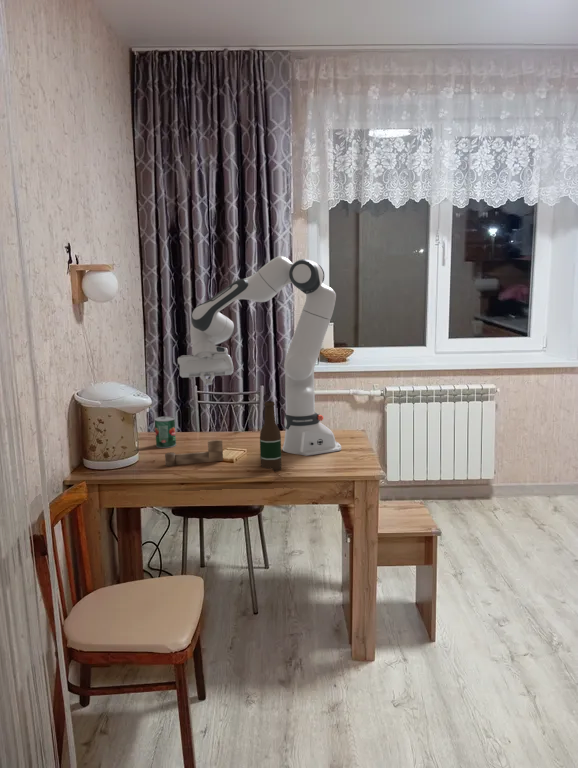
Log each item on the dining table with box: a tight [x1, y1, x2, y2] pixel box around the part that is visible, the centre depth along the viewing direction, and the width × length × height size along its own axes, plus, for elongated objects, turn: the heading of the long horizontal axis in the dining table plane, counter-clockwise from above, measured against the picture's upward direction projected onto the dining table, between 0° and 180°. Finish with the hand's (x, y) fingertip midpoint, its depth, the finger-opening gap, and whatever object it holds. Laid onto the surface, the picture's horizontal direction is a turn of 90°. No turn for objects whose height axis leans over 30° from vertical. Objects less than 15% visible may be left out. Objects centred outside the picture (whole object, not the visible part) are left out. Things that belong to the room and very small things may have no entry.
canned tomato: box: [154, 415, 177, 449], centre depth 271 cm, size 8×8×11 cm
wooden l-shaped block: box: [164, 439, 224, 467], centre depth 245 cm, size 20×9×8 cm, turn 103°
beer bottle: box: [259, 400, 282, 473], centre depth 236 cm, size 8×8×24 cm
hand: (208, 384), depth 253 cm, fingers closed
